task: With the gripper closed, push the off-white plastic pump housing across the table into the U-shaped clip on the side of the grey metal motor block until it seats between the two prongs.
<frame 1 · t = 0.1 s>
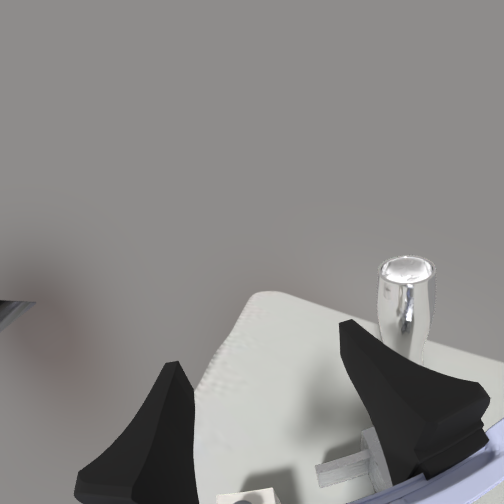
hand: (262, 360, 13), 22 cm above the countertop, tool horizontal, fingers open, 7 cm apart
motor: (410, 483, 19), on the countertop
beer glass: (401, 369, 34), on the countertop
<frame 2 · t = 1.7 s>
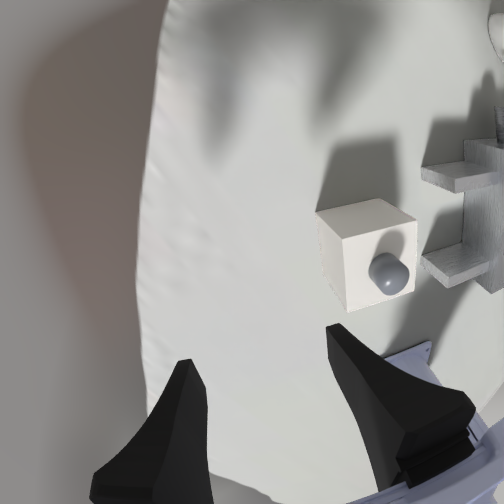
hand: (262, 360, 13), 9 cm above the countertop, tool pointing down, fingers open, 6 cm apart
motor: (487, 202, 21), on the countertop
pump: (351, 236, 21), on the countertop
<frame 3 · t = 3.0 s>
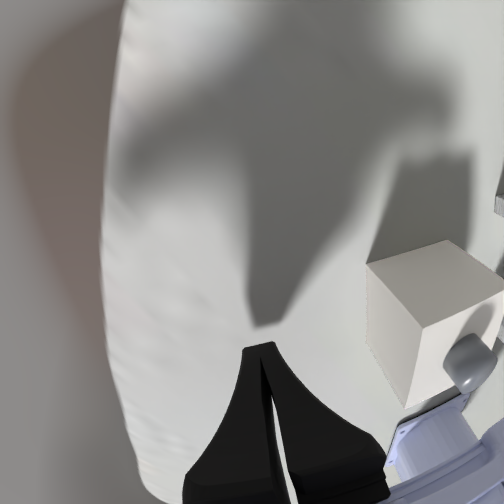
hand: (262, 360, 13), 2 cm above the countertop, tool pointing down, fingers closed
pump: (407, 292, 14), on the countertop
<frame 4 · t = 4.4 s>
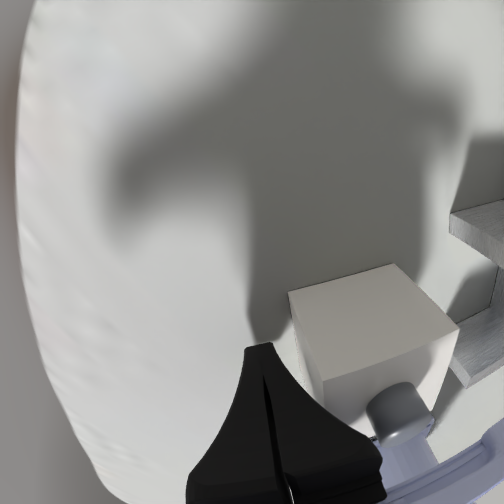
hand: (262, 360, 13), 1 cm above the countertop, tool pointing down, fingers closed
pump: (345, 321, 14), on the countertop, touching gripper
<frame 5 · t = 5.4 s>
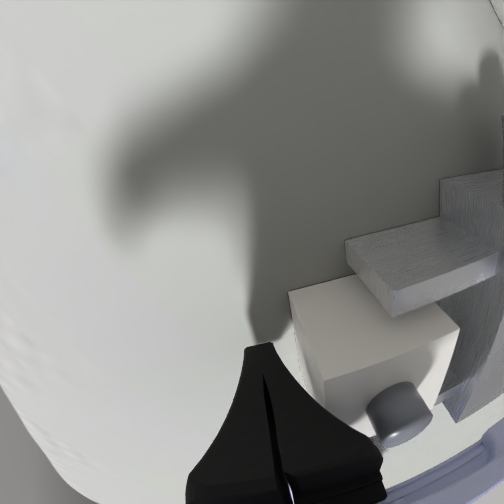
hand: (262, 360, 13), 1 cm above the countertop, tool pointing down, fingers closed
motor: (477, 274, 14), on the countertop
pump: (345, 321, 14), on the countertop, touching gripper
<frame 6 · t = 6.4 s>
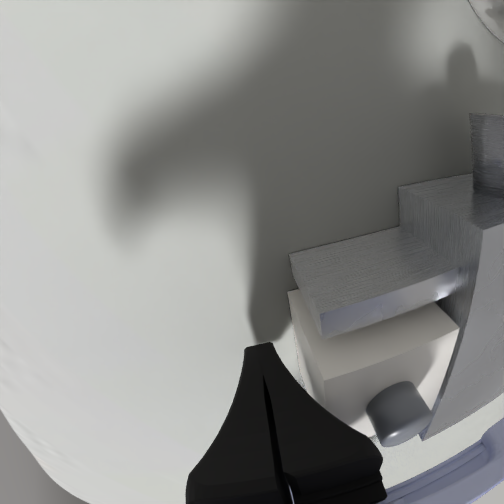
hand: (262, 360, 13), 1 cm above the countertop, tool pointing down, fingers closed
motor: (449, 285, 14), on the countertop
pump: (345, 321, 14), on the countertop, touching gripper
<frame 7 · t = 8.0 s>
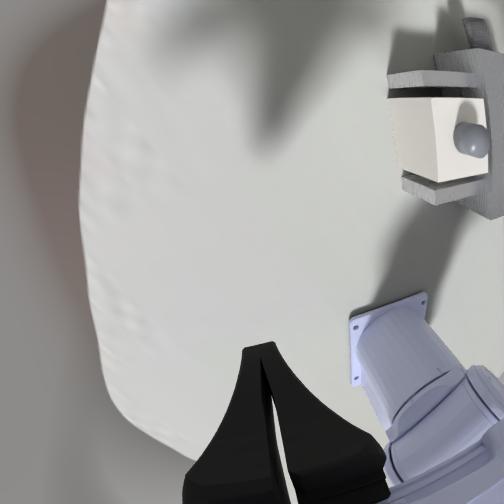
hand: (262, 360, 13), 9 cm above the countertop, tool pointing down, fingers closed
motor: (473, 126, 18), on the countertop
pump: (418, 129, 18), on the countertop
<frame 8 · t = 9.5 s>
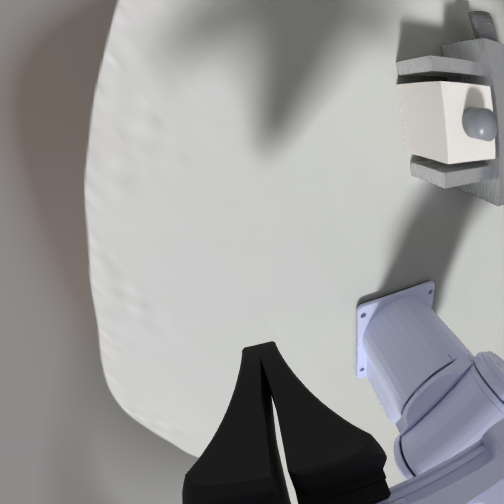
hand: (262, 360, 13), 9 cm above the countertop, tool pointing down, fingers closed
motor: (479, 116, 18), on the countertop
pump: (426, 116, 18), on the countertop
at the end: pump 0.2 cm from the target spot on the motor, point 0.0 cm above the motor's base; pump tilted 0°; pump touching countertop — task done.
